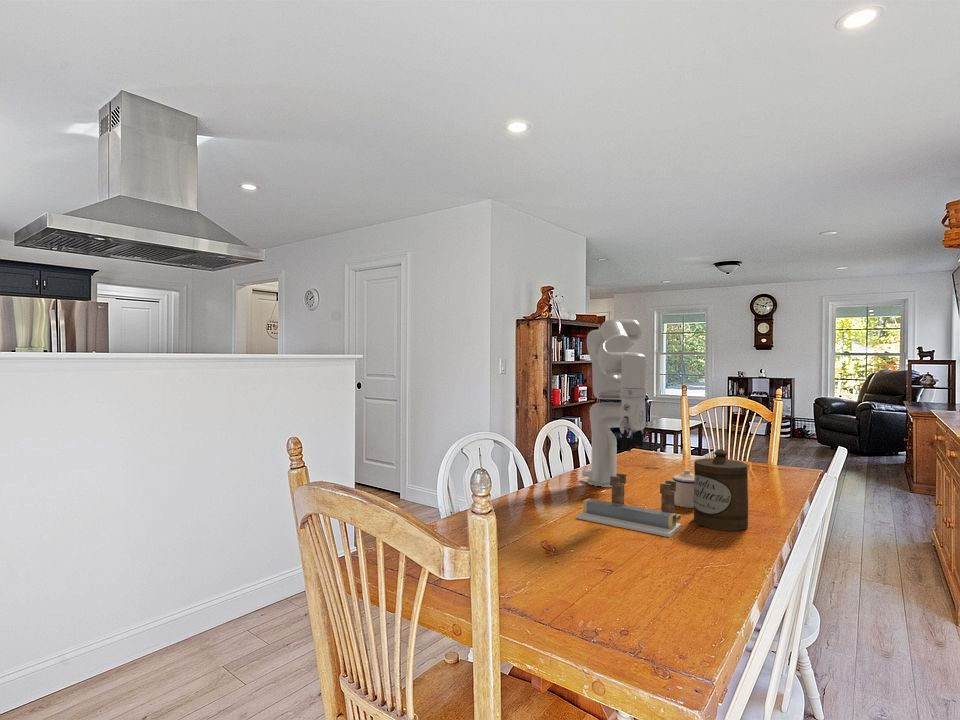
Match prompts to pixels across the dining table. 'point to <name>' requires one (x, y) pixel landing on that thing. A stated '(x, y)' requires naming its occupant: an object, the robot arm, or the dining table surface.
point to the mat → (629, 524)
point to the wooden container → (721, 493)
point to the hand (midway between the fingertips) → (631, 447)
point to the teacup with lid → (684, 489)
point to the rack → (618, 498)
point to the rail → (630, 513)
